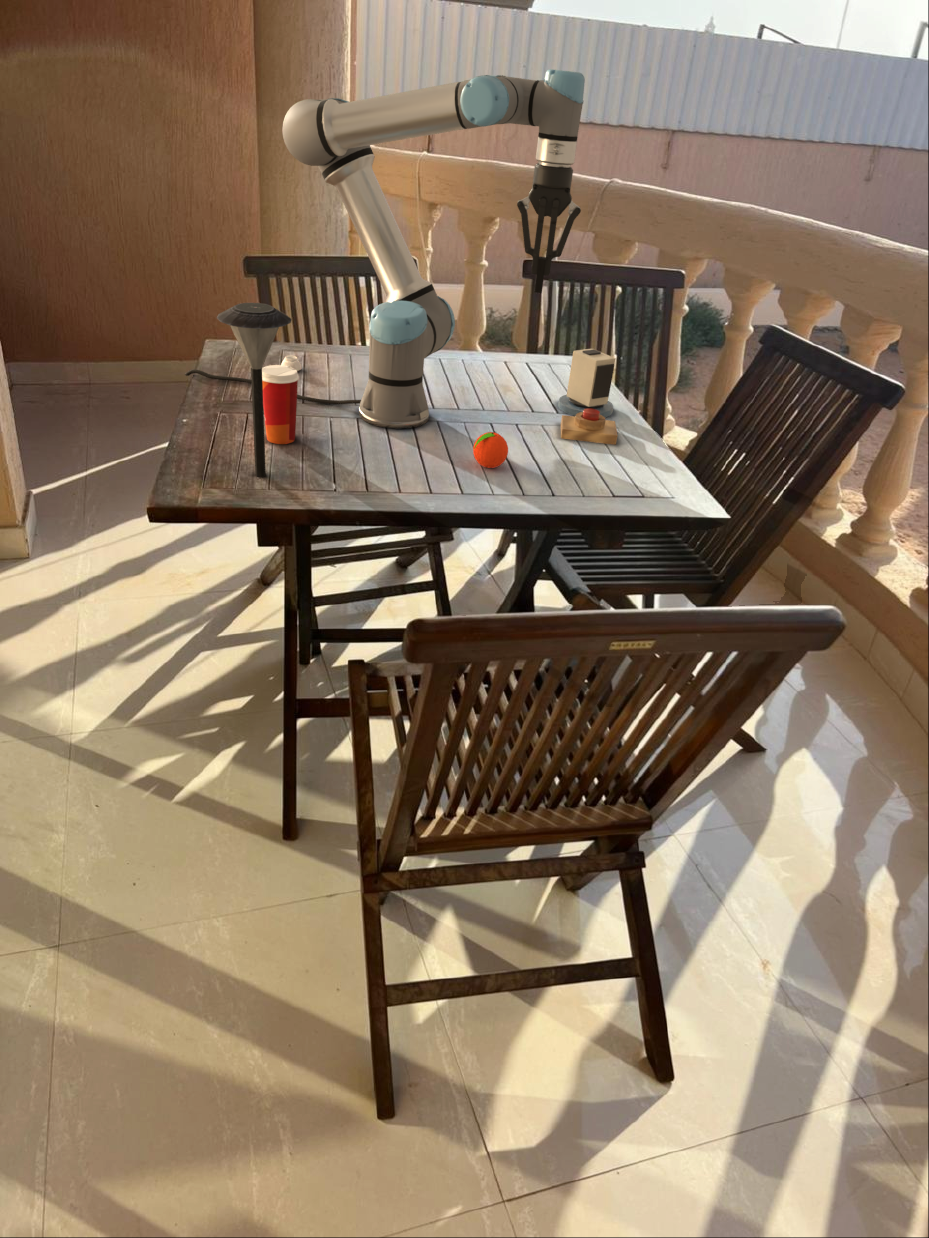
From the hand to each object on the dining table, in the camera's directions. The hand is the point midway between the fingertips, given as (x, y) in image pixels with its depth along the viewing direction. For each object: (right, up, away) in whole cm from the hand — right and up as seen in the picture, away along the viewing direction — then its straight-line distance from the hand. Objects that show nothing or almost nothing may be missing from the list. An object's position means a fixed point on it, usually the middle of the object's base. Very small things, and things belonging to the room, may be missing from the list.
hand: (537, 291), depth 182 cm
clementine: (-11, -38, -8) cm, 40 cm away
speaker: (+14, -17, +26) cm, 34 cm away
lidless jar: (-58, -7, +32) cm, 66 cm away
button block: (+12, -27, +12) cm, 32 cm away
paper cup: (-52, -32, -5) cm, 62 cm away
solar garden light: (-53, -42, -21) cm, 70 cm away
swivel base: (+13, -18, +27) cm, 35 cm away
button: (+12, -24, +11) cm, 29 cm away
